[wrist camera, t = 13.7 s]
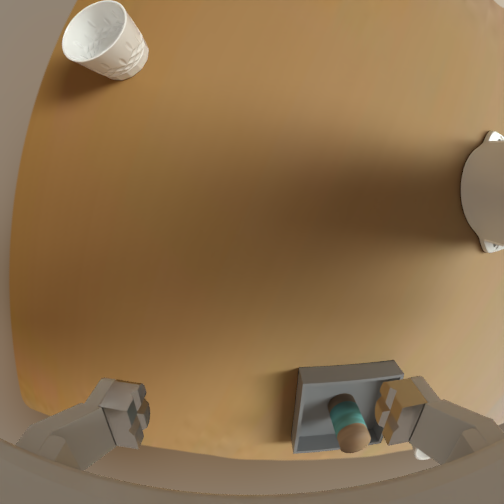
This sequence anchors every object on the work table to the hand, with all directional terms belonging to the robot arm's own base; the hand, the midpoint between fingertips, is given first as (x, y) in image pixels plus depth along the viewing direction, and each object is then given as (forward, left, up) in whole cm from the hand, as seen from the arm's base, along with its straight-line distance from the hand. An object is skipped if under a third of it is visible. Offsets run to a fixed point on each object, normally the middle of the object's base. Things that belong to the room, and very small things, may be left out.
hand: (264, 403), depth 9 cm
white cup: (+17, -24, -29) cm, 42 cm away
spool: (-14, +26, -29) cm, 41 cm away
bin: (-14, +26, -29) cm, 41 cm away
